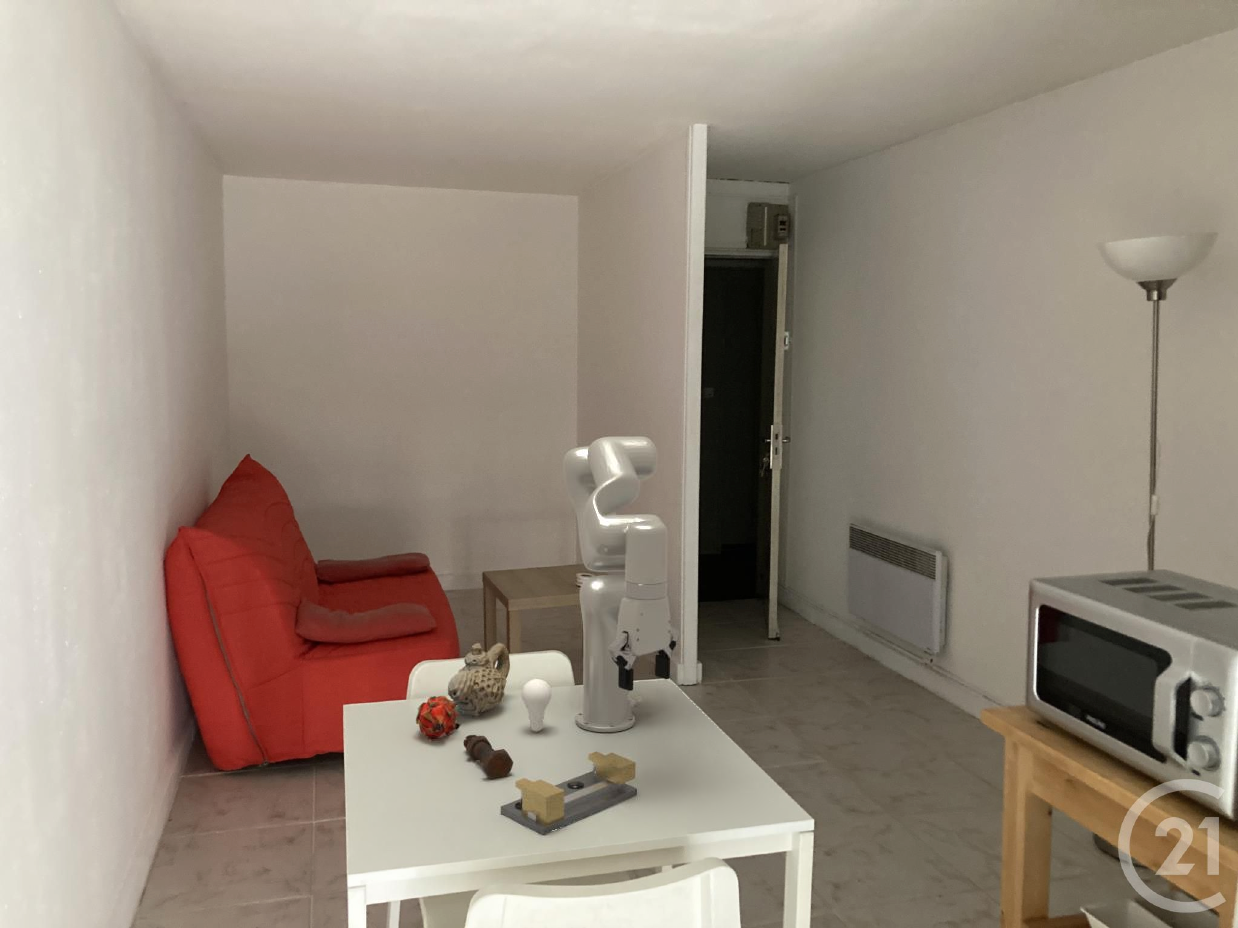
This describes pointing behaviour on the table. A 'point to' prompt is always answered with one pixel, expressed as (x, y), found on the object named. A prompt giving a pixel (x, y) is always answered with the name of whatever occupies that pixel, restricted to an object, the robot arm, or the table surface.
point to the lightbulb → (536, 701)
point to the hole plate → (564, 801)
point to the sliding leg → (613, 767)
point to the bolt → (488, 757)
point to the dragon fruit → (437, 717)
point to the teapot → (480, 680)
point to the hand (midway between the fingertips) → (644, 682)
